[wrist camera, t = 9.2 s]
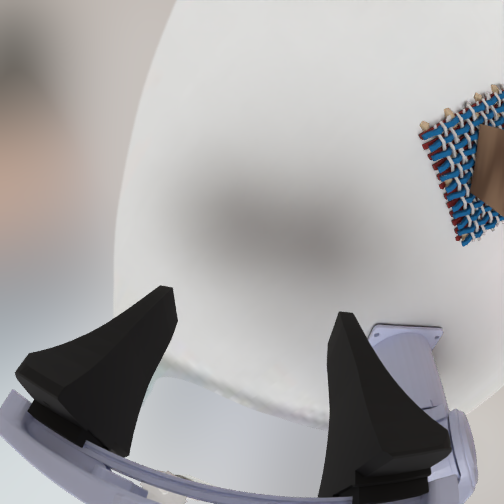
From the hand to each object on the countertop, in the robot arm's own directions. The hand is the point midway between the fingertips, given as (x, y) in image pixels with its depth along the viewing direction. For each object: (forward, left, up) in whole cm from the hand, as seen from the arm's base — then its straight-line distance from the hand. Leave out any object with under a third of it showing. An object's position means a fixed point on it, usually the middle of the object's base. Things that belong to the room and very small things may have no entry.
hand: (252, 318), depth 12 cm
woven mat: (+8, -16, -10) cm, 21 cm away
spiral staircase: (-107, +28, -10) cm, 111 cm away
